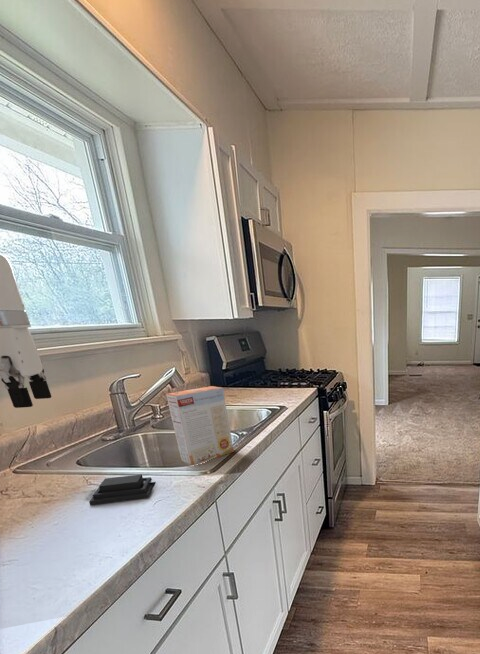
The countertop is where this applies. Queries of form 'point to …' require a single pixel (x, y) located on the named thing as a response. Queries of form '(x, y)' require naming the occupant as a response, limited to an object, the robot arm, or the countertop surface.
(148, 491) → the base pad
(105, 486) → the top pad
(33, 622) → the countertop surface
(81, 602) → the countertop surface
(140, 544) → the countertop surface
